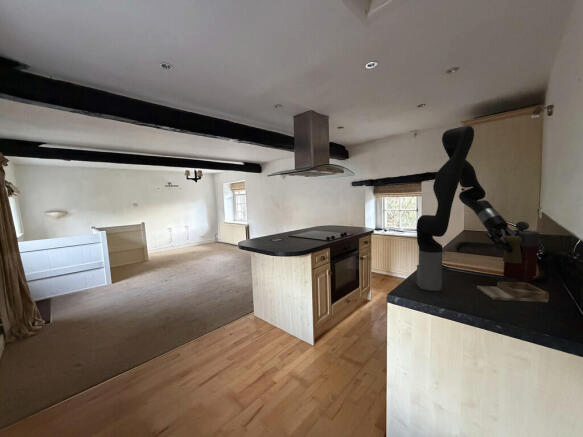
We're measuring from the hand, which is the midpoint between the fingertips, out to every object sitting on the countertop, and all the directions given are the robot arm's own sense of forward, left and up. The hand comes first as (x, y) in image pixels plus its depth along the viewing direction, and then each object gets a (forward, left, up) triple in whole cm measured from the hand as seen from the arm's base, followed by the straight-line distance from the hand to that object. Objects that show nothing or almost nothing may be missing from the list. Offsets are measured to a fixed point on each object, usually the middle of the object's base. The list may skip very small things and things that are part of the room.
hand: (517, 251), depth 97 cm
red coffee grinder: (+16, +22, -18) cm, 33 cm away
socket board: (-3, -2, -18) cm, 18 cm away
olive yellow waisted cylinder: (0, +2, -5) cm, 5 cm away
